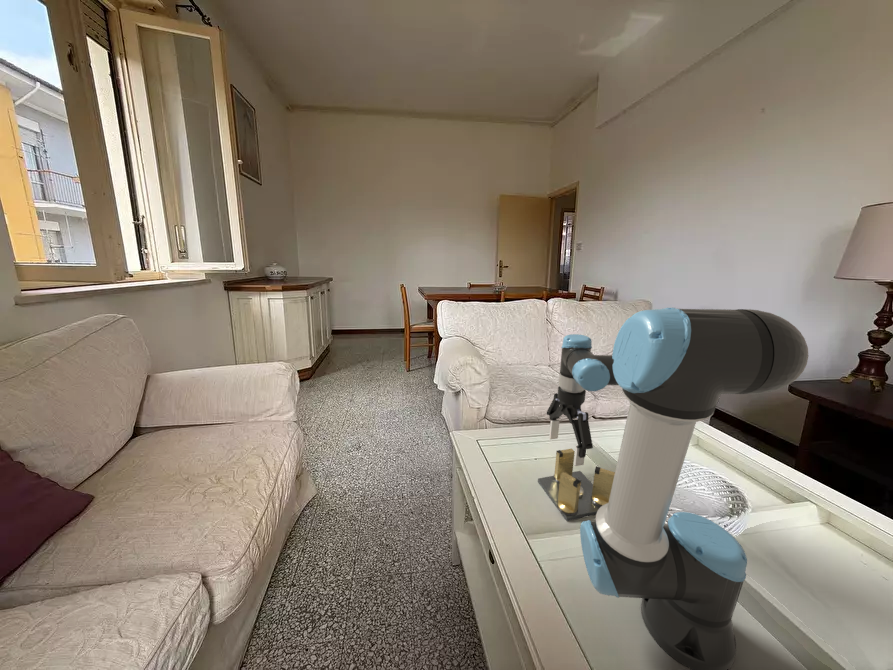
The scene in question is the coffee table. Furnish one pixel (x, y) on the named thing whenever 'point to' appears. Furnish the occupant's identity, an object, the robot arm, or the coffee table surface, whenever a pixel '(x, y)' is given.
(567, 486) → the front knob
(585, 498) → the plate
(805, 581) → the coffee table surface
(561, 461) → the far knob
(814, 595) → the coffee table surface
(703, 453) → the coffee table surface
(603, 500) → the side knob
